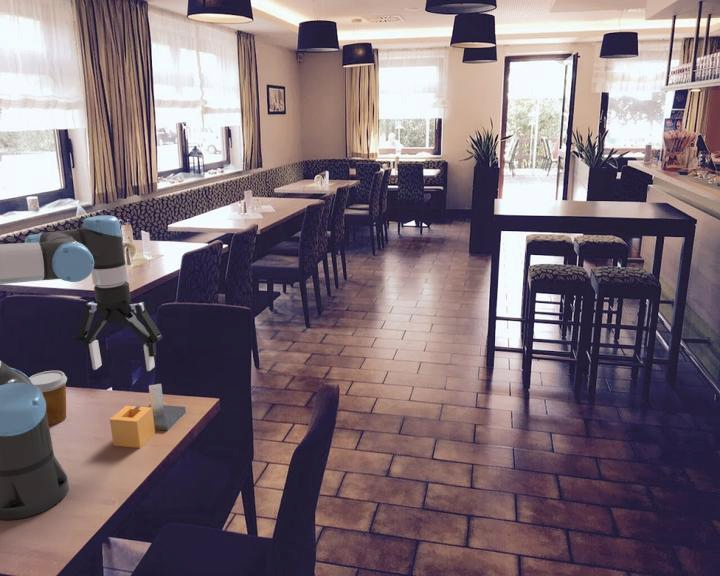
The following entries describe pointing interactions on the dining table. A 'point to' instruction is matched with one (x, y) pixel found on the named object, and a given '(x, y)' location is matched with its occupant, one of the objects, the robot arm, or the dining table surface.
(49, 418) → the brown jar with lid
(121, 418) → the orange slotted box
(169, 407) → the post plate
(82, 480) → the dining table surface
